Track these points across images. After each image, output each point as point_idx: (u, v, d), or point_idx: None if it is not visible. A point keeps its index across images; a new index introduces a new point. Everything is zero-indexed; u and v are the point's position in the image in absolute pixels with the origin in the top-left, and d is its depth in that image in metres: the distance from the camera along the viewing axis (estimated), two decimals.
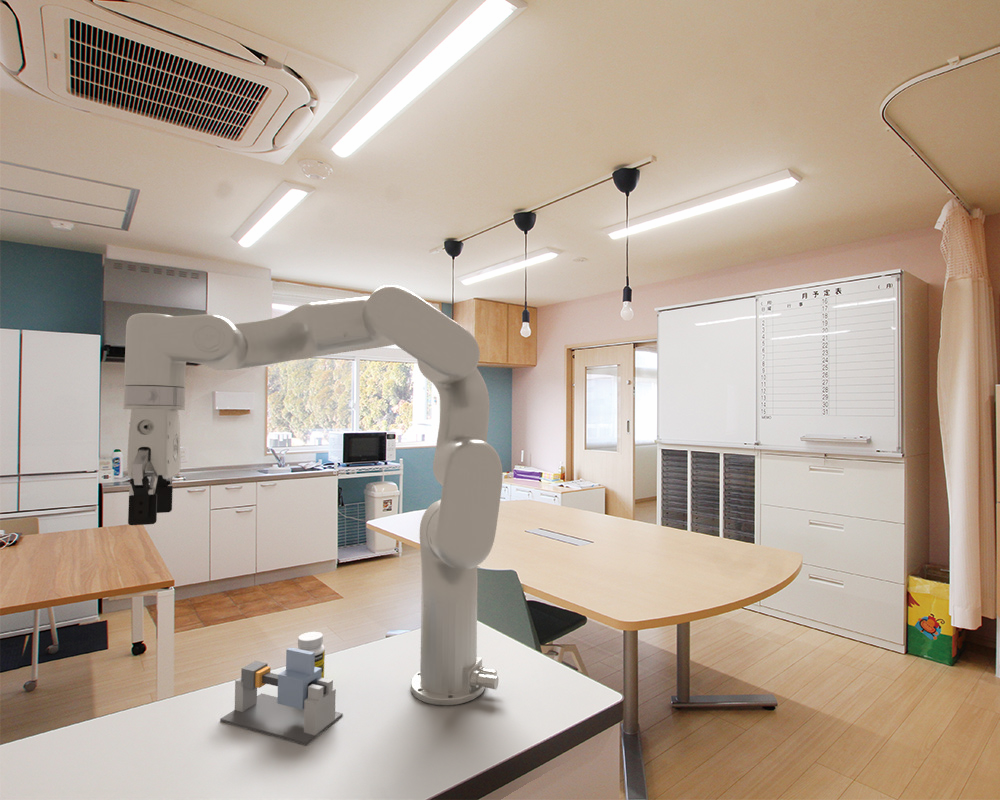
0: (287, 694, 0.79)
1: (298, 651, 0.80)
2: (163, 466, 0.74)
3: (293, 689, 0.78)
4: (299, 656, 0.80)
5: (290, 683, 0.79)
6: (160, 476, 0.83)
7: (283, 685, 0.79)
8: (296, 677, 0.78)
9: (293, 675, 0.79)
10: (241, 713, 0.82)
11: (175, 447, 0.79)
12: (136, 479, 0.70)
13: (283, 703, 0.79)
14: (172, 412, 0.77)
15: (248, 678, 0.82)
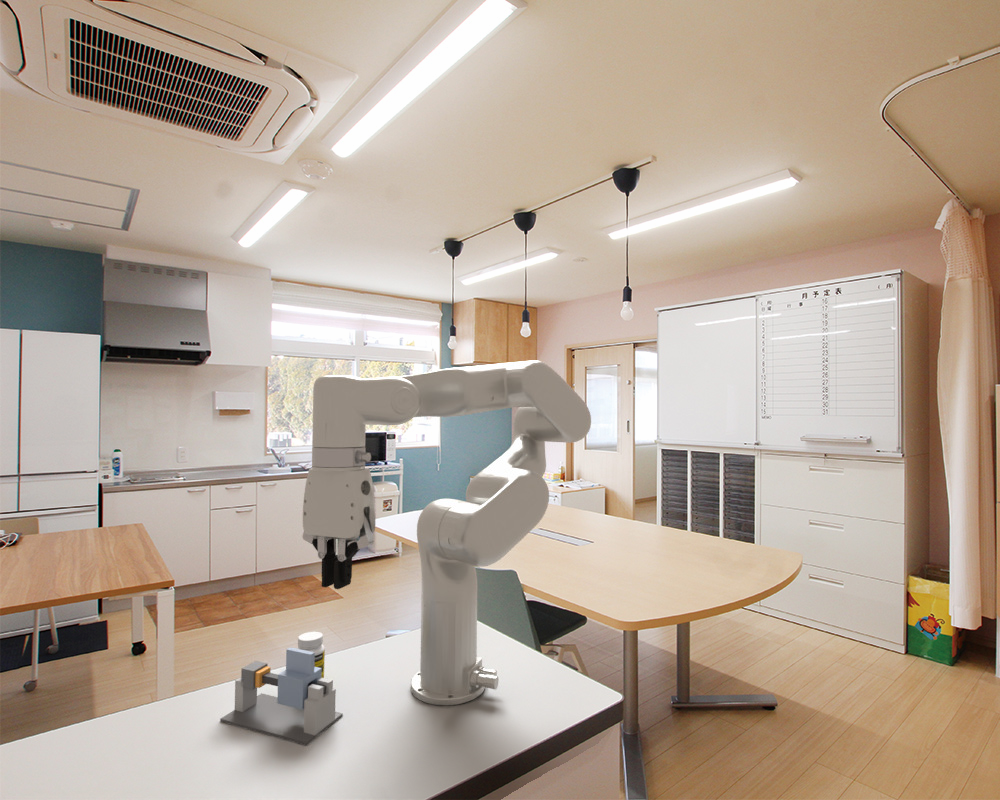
0: (287, 694, 0.79)
1: (298, 651, 0.80)
2: None
3: (293, 689, 0.78)
4: (299, 656, 0.80)
5: (290, 683, 0.79)
6: None
7: (283, 685, 0.79)
8: (296, 677, 0.78)
9: (293, 675, 0.79)
10: (241, 713, 0.82)
11: None
12: (359, 548, 0.77)
13: (283, 703, 0.79)
14: None
15: (248, 678, 0.82)
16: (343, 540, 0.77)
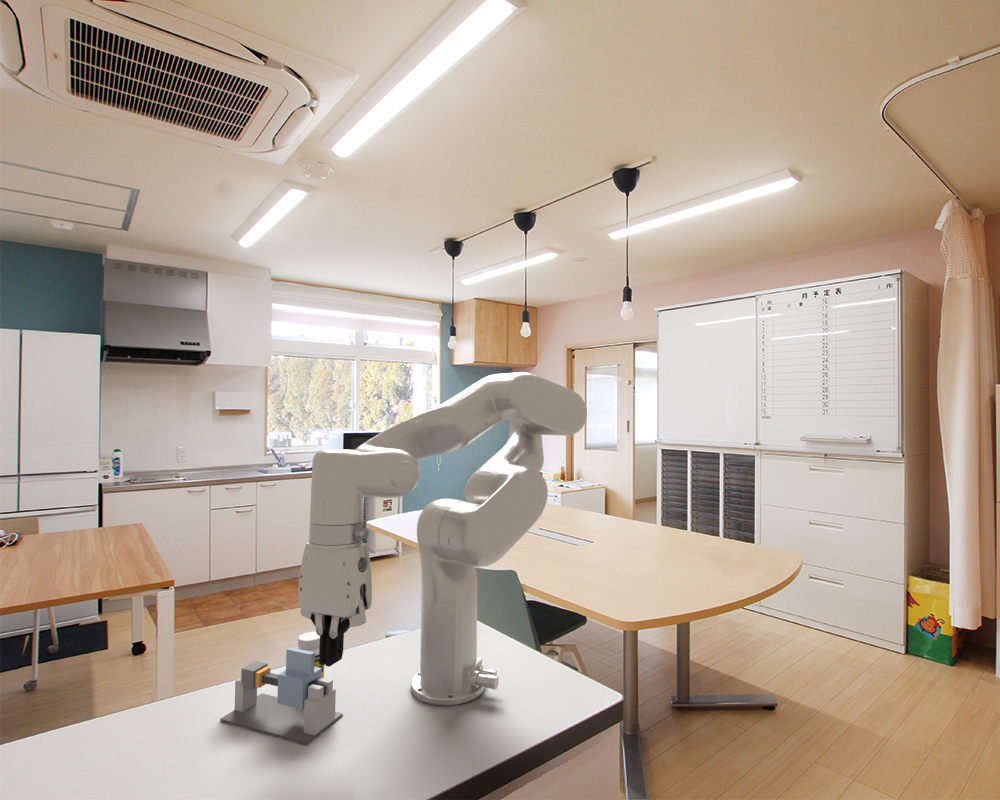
0: (287, 694, 0.79)
1: (298, 651, 0.80)
2: (371, 598, 0.79)
3: (293, 689, 0.78)
4: (299, 656, 0.80)
5: (290, 683, 0.79)
6: None
7: (283, 685, 0.79)
8: (296, 677, 0.78)
9: (293, 675, 0.79)
10: (241, 713, 0.82)
11: None
12: None
13: (283, 703, 0.79)
14: None
15: (248, 678, 0.82)
16: (337, 617, 0.76)
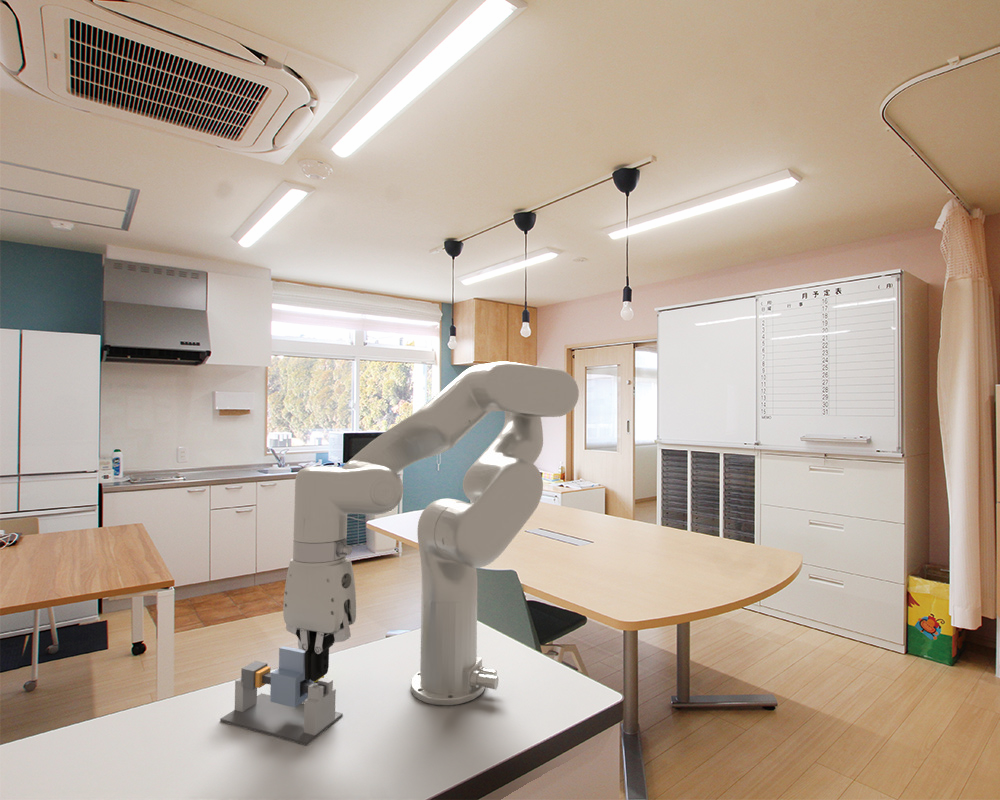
0: (280, 692, 0.79)
1: (291, 650, 0.81)
2: (355, 613, 0.80)
3: (286, 687, 0.79)
4: (292, 655, 0.81)
5: (283, 681, 0.79)
6: None
7: (276, 683, 0.79)
8: (288, 675, 0.79)
9: (286, 673, 0.80)
10: (241, 713, 0.82)
11: None
12: None
13: (276, 701, 0.79)
14: None
15: (248, 678, 0.82)
16: (321, 633, 0.77)
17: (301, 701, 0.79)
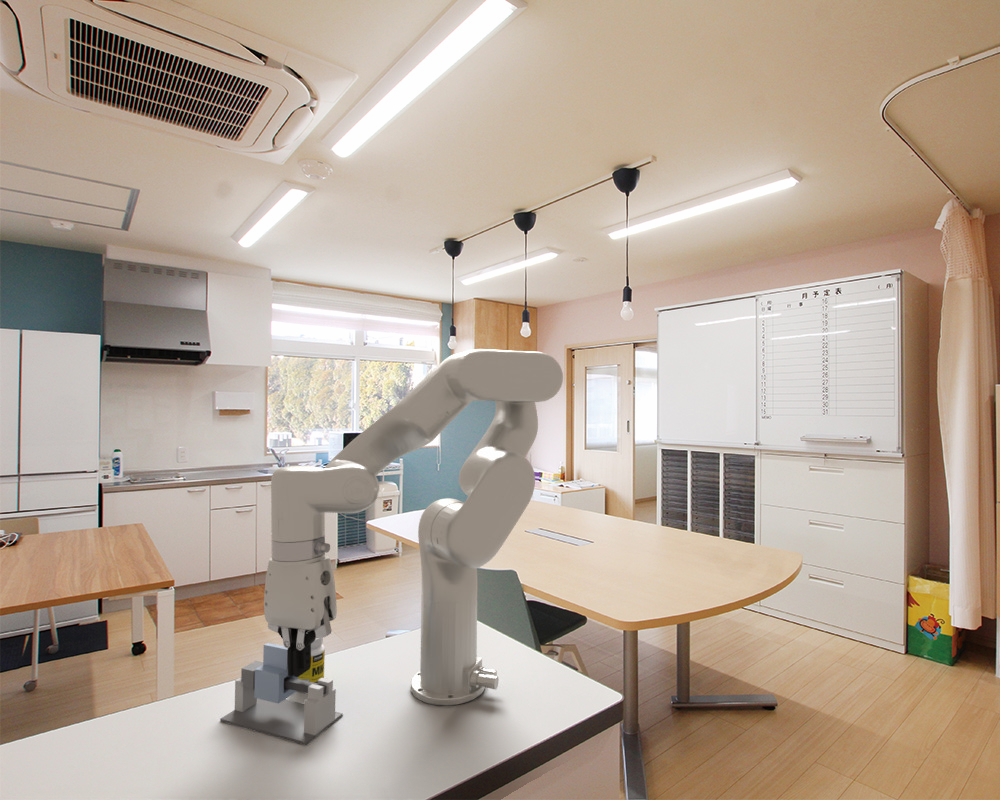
0: (264, 688, 0.80)
1: (275, 646, 0.82)
2: (336, 609, 0.81)
3: (269, 683, 0.80)
4: (276, 651, 0.82)
5: (266, 678, 0.80)
6: None
7: (260, 680, 0.81)
8: (272, 672, 0.80)
9: (270, 670, 0.81)
10: (241, 713, 0.82)
11: None
12: None
13: (260, 697, 0.80)
14: None
15: (248, 678, 0.82)
16: (302, 630, 0.79)
17: (285, 697, 0.80)
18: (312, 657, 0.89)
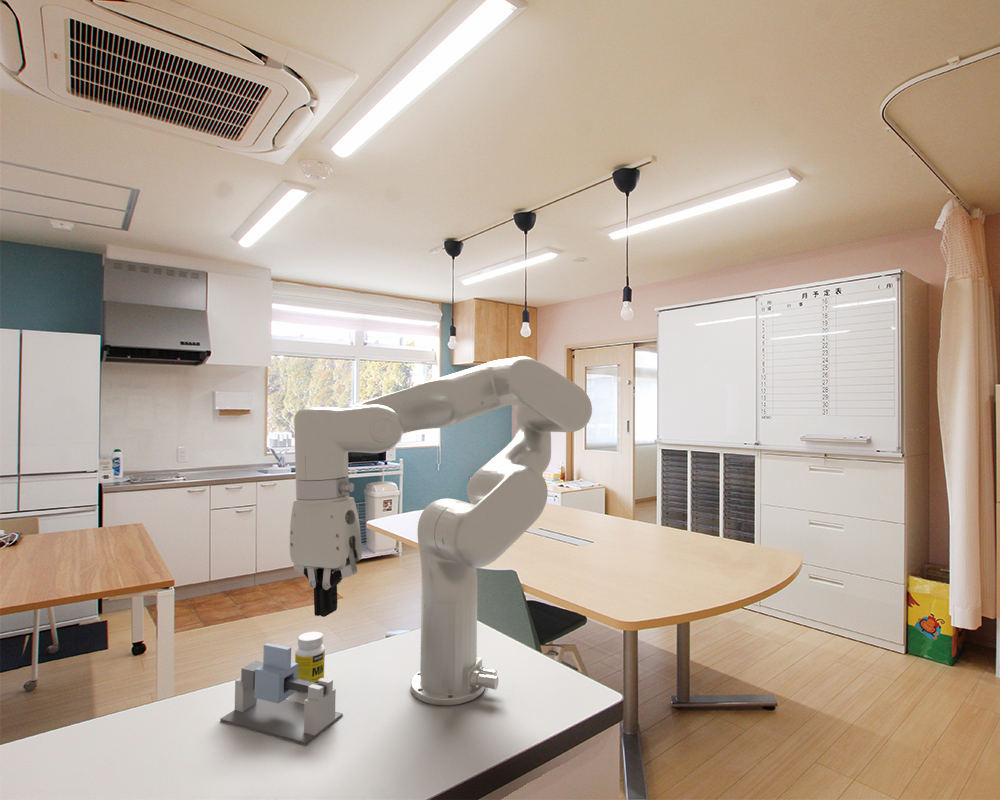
0: (264, 688, 0.80)
1: (275, 646, 0.82)
2: (361, 550, 0.81)
3: (269, 683, 0.80)
4: (276, 651, 0.82)
5: (267, 678, 0.80)
6: None
7: (260, 680, 0.81)
8: (272, 672, 0.80)
9: (270, 670, 0.81)
10: (241, 713, 0.82)
11: None
12: None
13: (260, 697, 0.80)
14: None
15: (248, 678, 0.82)
16: (328, 569, 0.78)
17: (285, 697, 0.80)
18: (312, 657, 0.89)
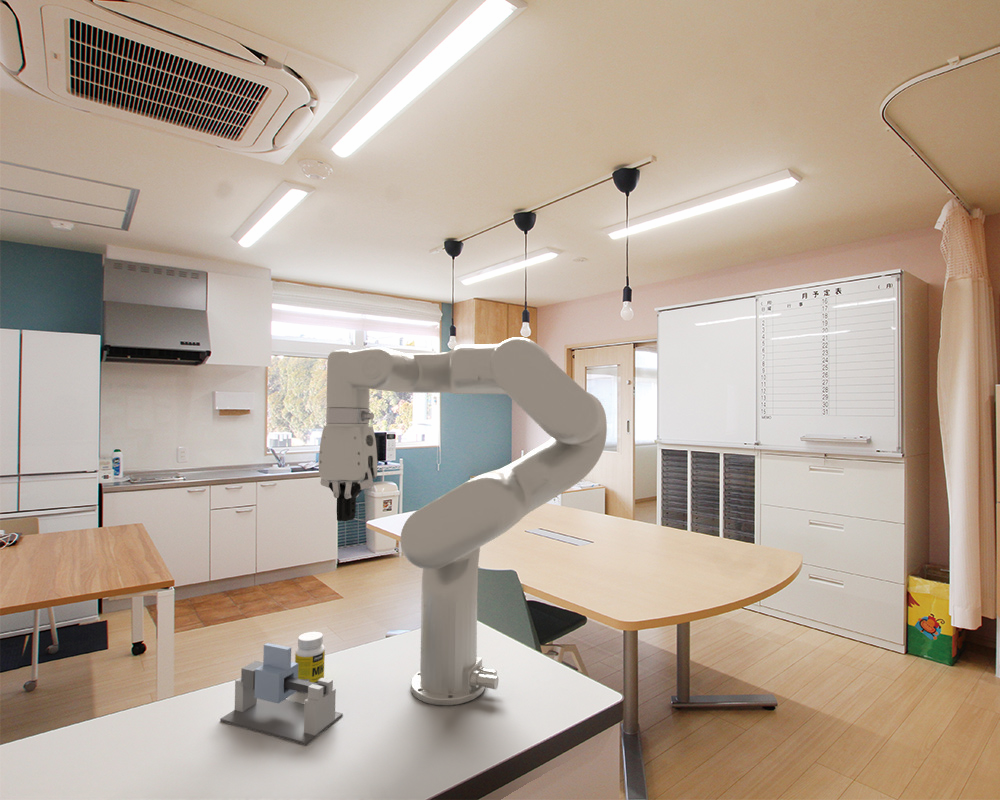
0: (264, 688, 0.80)
1: (275, 646, 0.82)
2: None
3: (269, 683, 0.80)
4: (276, 651, 0.82)
5: (267, 678, 0.80)
6: None
7: (260, 680, 0.81)
8: (272, 672, 0.80)
9: (270, 670, 0.81)
10: (241, 713, 0.82)
11: None
12: (362, 489, 0.96)
13: (260, 697, 0.80)
14: None
15: (248, 678, 0.82)
16: (350, 482, 0.96)
17: (285, 697, 0.80)
18: (312, 657, 0.89)
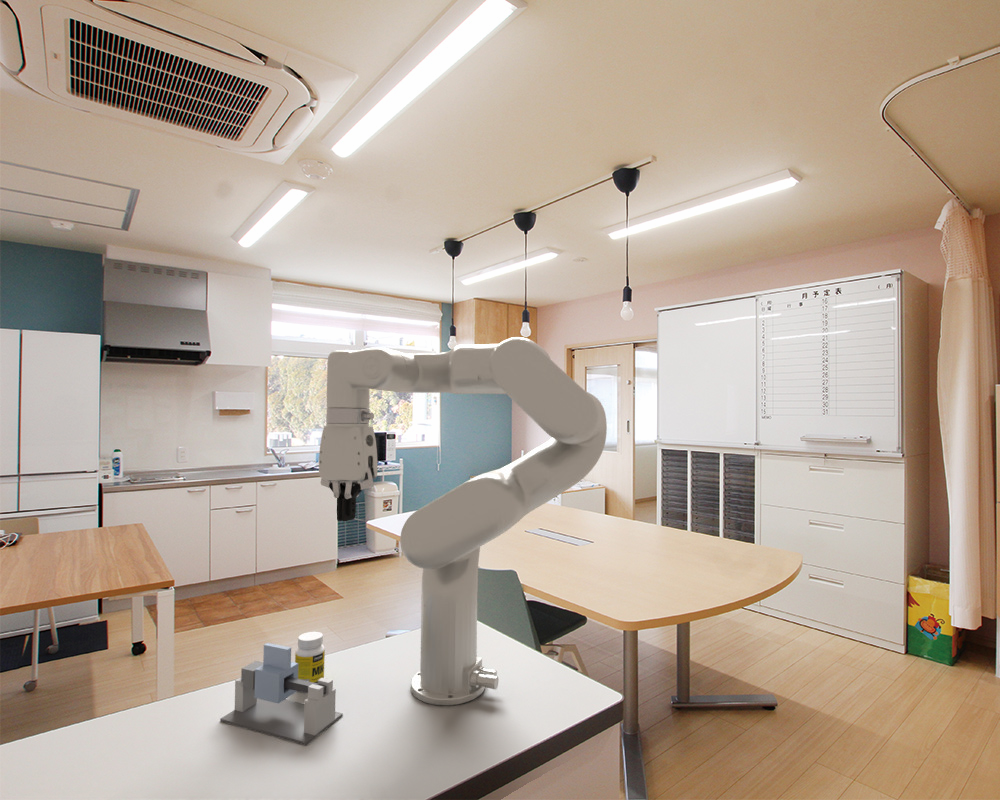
0: (264, 688, 0.80)
1: (275, 646, 0.82)
2: None
3: (269, 683, 0.80)
4: (276, 651, 0.82)
5: (267, 678, 0.80)
6: None
7: (260, 680, 0.81)
8: (272, 672, 0.80)
9: (270, 670, 0.81)
10: (241, 713, 0.82)
11: None
12: (362, 489, 0.96)
13: (260, 697, 0.80)
14: None
15: (248, 678, 0.82)
16: (350, 482, 0.96)
17: (285, 697, 0.80)
18: (312, 657, 0.89)
